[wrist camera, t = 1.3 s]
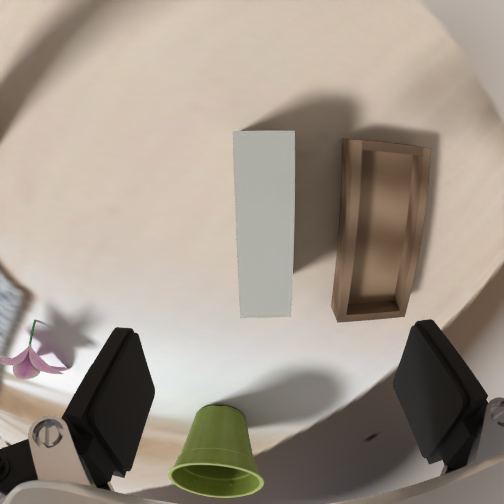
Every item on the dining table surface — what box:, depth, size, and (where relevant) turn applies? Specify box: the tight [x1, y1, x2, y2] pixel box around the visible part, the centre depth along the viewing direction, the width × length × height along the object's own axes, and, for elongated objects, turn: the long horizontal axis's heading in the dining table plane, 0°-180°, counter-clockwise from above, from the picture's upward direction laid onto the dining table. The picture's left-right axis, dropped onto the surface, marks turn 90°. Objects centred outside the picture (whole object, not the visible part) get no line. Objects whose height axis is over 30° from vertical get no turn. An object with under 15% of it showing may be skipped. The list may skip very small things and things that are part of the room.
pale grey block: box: [233, 131, 295, 318], centre depth 24 cm, size 14×4×7 cm, turn 1°
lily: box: [0, 320, 70, 379], centre depth 31 cm, size 12×12×10 cm
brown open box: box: [331, 139, 431, 322], centre depth 26 cm, size 17×8×3 cm, turn 1°
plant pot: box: [168, 405, 264, 498], centre depth 34 cm, size 12×12×11 cm
